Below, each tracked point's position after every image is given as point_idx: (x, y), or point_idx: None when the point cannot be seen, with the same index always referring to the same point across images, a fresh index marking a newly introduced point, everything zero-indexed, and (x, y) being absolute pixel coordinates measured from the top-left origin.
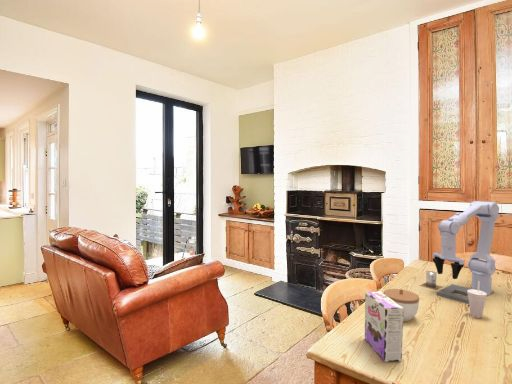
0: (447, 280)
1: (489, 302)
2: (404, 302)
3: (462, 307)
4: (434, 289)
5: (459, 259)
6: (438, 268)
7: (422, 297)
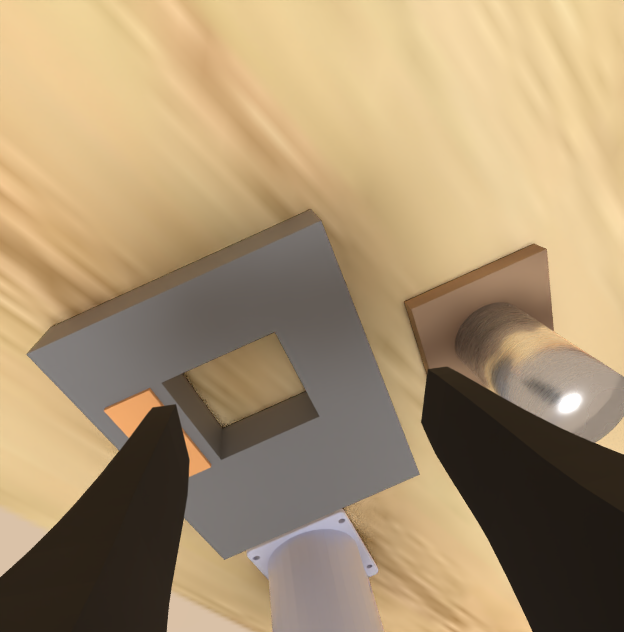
0: None
1: None
2: None
3: (43, 240)
4: (427, 305)
5: None
6: (488, 426)
7: (349, 45)
